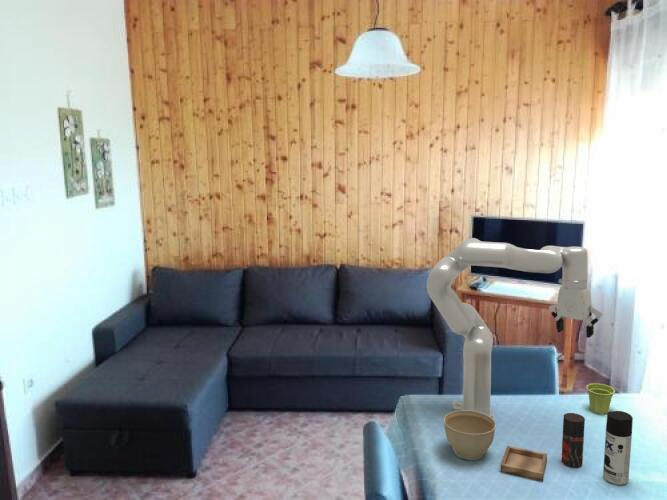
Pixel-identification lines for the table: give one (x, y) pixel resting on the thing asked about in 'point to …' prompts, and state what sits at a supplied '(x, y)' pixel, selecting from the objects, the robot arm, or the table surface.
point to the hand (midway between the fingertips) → (574, 333)
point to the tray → (524, 463)
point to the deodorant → (573, 440)
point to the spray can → (617, 447)
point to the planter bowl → (469, 433)
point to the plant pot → (600, 397)
